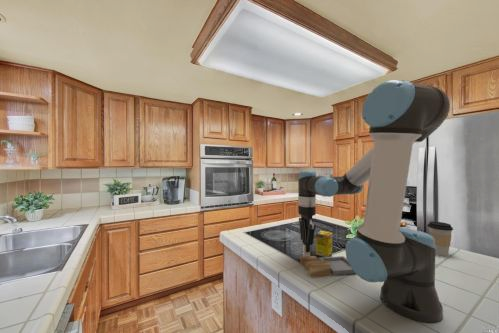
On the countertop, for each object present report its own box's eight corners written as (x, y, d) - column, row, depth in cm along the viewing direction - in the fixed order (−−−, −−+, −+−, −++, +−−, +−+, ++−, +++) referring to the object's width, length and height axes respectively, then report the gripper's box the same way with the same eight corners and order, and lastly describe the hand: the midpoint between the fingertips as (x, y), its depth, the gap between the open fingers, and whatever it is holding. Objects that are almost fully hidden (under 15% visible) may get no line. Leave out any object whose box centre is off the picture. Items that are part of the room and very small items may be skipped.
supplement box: (328, 259, 96) (328, 235, 96) (315, 256, 99) (315, 233, 99) (332, 255, 100) (332, 232, 100) (319, 252, 104) (320, 230, 104)
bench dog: (330, 275, 81) (330, 264, 81) (311, 277, 80) (311, 265, 80) (326, 271, 84) (326, 260, 84) (307, 273, 83) (307, 262, 83)
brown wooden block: (324, 271, 86) (324, 264, 86) (308, 272, 84) (308, 265, 84) (314, 262, 94) (314, 255, 94) (300, 263, 92) (300, 256, 92)
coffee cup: (458, 259, 98) (458, 226, 98) (435, 257, 99) (435, 225, 99) (444, 251, 107) (444, 221, 107) (422, 249, 109) (423, 220, 109)
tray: (361, 273, 83) (361, 268, 83) (333, 276, 81) (333, 271, 81) (343, 260, 95) (343, 256, 95) (318, 262, 93) (318, 257, 93)
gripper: (321, 208, 88) (321, 264, 88) (308, 202, 101) (307, 251, 101) (305, 208, 87) (304, 265, 87) (293, 203, 99) (293, 252, 100)
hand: (306, 258), depth 94 cm, fingers closed
